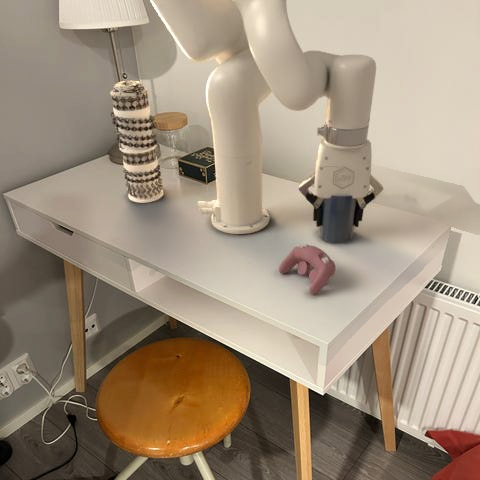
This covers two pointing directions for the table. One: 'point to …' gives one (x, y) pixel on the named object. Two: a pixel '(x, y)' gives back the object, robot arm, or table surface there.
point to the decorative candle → (136, 141)
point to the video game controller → (308, 256)
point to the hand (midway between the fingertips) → (336, 223)
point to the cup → (337, 219)
